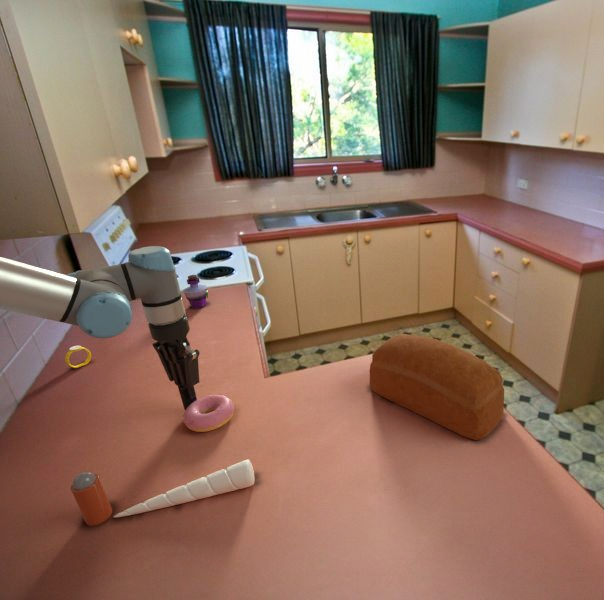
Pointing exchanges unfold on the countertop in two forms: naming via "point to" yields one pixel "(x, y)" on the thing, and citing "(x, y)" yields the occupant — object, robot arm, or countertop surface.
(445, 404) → the bread
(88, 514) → the salt shaker
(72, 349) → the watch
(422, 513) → the countertop surface
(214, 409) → the doughnut
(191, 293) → the potion bottle
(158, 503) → the unicorn horn
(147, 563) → the countertop surface
